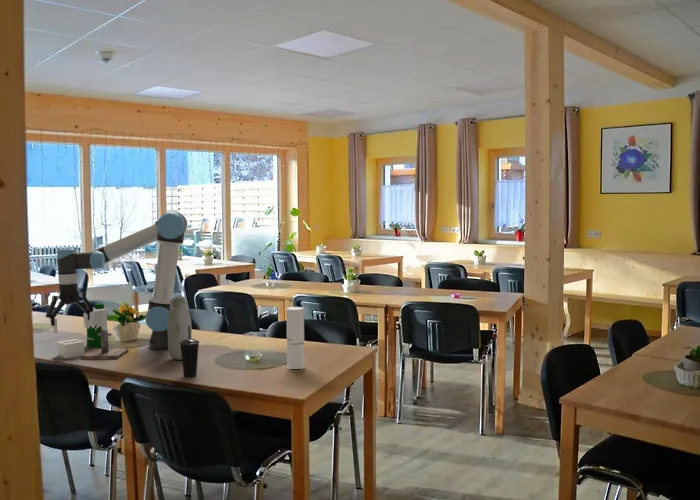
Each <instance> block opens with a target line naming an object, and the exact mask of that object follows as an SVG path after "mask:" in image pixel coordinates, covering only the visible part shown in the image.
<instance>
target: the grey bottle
mask: <svg viewBox="0 0 700 500" xmlns="http://www.w3.org/2000/svg"><path fill="white" fill-rule="evenodd" d="M188 326H190V339H193V338H192V335H193V334H192V332H193V331H192V318H191V315H190V311H189V303H188V300H187V298H186V297H185V296H182V295H176V296H173V298H172V300H171V302H170V312H169V317H168V324H167V330H168V349H167V350H168V353H169V355H170V357H171V358H173V359H174V360H177V361H180V360H181V361H182V356H181V347H180V344H179V343H180V342H181V341H183V340H185V339H188Z"/></svg>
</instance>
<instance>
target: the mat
mask: <svg viewBox="0 0 700 500" xmlns="http://www.w3.org/2000/svg"><path fill="white" fill-rule="evenodd" d="M87 352H88V351H84V354H85V353H87ZM81 356H82V355H81ZM81 356H75V357H69V358H64V357H61V356H59V355H58V354H57V355H56V356H54V357H53V358H52V359H53V360H79V359H81Z"/></svg>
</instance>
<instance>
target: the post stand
mask: <svg viewBox="0 0 700 500" xmlns="http://www.w3.org/2000/svg"><path fill="white" fill-rule="evenodd" d="M112 335H113V333H112V332H110V333H109V328H108V327H107V328H104V329H101V333H98V334H97V336H101V347H100V348H91V350H89V351H86V352H87V353H85V354H83V355H82V356H81V358H80V360H119V358H121V357H123V356H124V355H125V354H127V353H128V352H129V348H126V347H124V348H123V347H122V348H109V347H110V346H109V345H108V344H109V337H111V336H112Z"/></svg>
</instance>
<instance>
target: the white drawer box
mask: <svg viewBox="0 0 700 500" xmlns="http://www.w3.org/2000/svg"><path fill="white" fill-rule="evenodd" d="M84 352H85V342H84V341H83V340H80V339H78V338H74V339H69V340H68V339H67V340H60V341H57V356H58V355H59V356H61V357H64V358H69V357H75V356H81V355H83V354H84Z"/></svg>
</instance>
